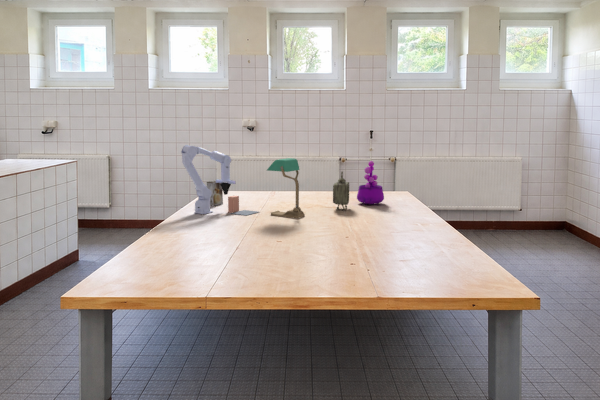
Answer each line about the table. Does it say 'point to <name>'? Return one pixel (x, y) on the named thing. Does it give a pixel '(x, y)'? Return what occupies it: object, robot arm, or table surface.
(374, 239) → the table surface
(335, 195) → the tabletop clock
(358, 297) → the table surface
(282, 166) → the banker's lamp
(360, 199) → the decorative plant
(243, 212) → the mat
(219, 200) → the coffee box
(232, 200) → the block
